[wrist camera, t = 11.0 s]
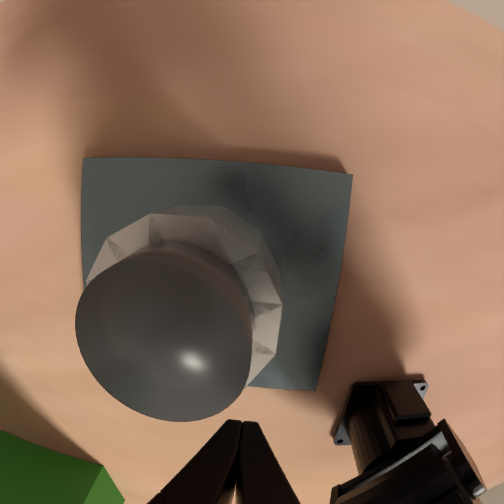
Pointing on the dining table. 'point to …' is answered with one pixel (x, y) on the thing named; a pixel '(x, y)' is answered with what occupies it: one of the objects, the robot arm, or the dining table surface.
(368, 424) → the robot arm
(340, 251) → the square base plate
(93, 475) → the hardback book
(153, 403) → the dark grey rounded lump
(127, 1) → the dining table surface
